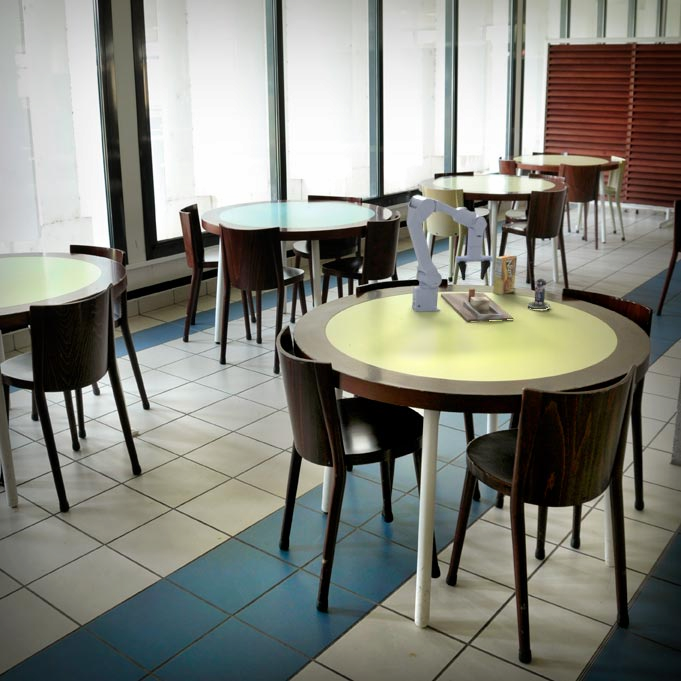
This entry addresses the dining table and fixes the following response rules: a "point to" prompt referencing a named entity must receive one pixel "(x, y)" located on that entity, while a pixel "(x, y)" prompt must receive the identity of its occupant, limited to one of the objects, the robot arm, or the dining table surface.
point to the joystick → (478, 301)
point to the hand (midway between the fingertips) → (472, 279)
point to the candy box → (504, 274)
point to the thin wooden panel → (469, 313)
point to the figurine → (539, 296)
